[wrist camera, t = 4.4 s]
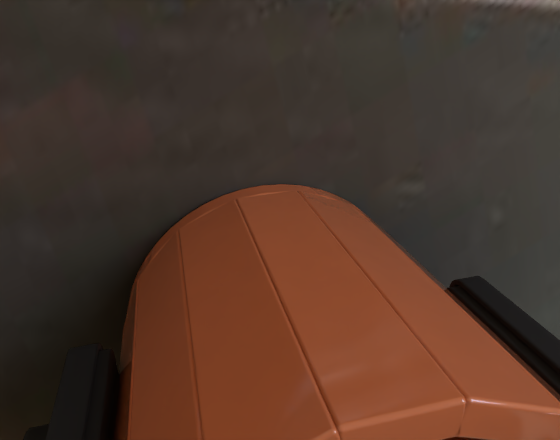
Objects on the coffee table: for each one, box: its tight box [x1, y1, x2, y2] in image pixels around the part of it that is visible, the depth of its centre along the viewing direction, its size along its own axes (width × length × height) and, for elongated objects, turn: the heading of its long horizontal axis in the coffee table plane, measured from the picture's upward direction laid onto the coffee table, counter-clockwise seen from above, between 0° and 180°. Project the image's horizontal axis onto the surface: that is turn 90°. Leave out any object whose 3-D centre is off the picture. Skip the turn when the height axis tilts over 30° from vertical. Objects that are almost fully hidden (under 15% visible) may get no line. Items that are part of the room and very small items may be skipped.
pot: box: [113, 184, 560, 440], centre depth 9 cm, size 7×7×7 cm
